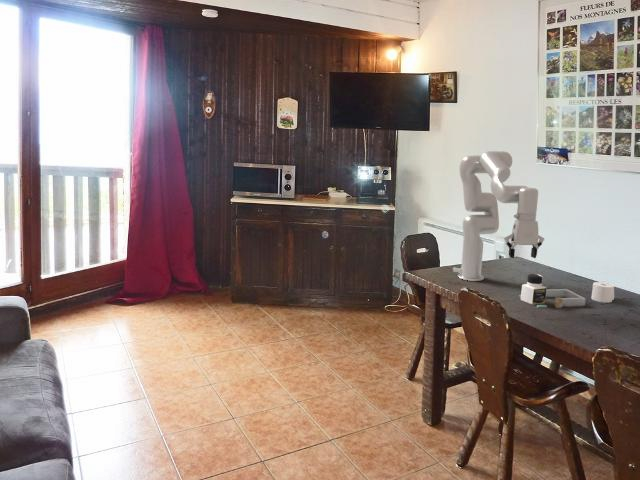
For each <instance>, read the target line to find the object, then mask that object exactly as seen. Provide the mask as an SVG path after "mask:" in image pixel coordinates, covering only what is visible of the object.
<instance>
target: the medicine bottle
mask: <svg viewBox="0 0 640 480" xmlns="http://www.w3.org/2000/svg"><path fill="white" fill-rule="evenodd" d="M543 278H544V277H543V275H541V274H537V273H530V274H528V275H527V278H526V279H527V280H526V281H527V282H526V283H524V284H522V285H521V292H520V293H521V294H520V295H521V297H520V301H522V302H525V303H526V304H529V305H532V306H535V305H543V304H545V303H546V298H547V297H546V289H547V286H543Z"/></svg>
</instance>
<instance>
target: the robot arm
mask: <svg viewBox="0 0 640 480" xmlns="http://www.w3.org/2000/svg"><path fill="white" fill-rule="evenodd" d="M512 164H513V157H512V156H511V154H510V153H509V152H507V151H502V150H501V151H498V150H497V151H496V150H490V151H486V152H483V154H482V155H478V154H477V155H467V156H465V157H463V158H462V159H461V161H460V163H459V176H460V179H461V183H462V191H463V205H464V209H465V211H467V212H470V213H483V214H470V215H467V216H465V217H464V218H463V220H462V234H463V240H462V241H463V242H462V255H461V267H455V266H454V267H452V271H453V272H454V273H458V274H457V276H458V277H459V278H458V277H457V278H458V279H459V280H462V279H463V280H464V281H467V280H468V281H469V282H480V281H483V280H484V279H485V277H484V275H483V274H482V266H483V265H482V264H483V254H484V241H483V239H482V236H481V235H491V234H496V233H497V232H498V230H499V228H500V227H499V226H500V216H499V206H498V202H500V203H502V204H517V209H516V211H517V212H516V214H514V215H513V218H514V219H515V220H514V223H513V226H512V229H511V234H509V235H507V236H504V237H503V240H504V242H505V245H506V246H507V247H508V249H509V250H508V257H509V258H511V259H515V250H516V249H515V248H516V246H531V251H530V257H531V258H532V259H536V258H537V255H538V250H539V248H540V247H541V246H542V245H543V243H544V241H545V238H544V237H543V236H540V235H539V224H538V223H539V222H538V220H536V219H537V210H538V200H539V190H538V189H537V188H534V187H528V186H526V185H505V184H504V183H505V182H506V181H508V179H509V178H510V177H511V169H510V168H511V167H512ZM476 174H488V176H489V177H490V178H491V181H490V190H491V192H483V191H482V183H481V180H480V179H479V177H478V176H477V175H476ZM510 240H511V241H510Z"/></svg>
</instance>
